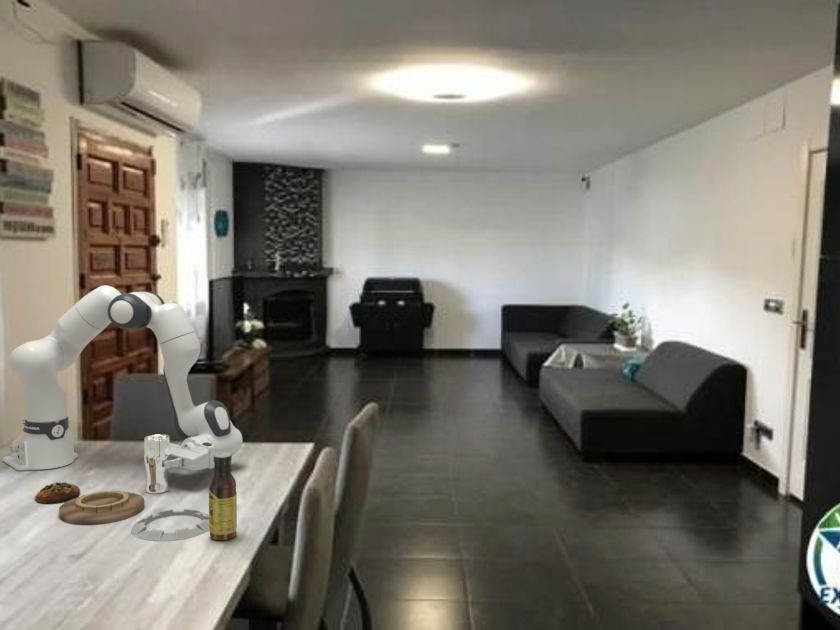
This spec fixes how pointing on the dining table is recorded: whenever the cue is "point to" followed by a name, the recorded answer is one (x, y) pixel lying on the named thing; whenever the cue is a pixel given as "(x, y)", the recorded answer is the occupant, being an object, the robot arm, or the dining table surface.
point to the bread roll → (57, 493)
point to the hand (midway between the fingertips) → (154, 462)
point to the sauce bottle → (222, 499)
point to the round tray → (101, 517)
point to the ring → (180, 534)
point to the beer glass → (156, 462)
